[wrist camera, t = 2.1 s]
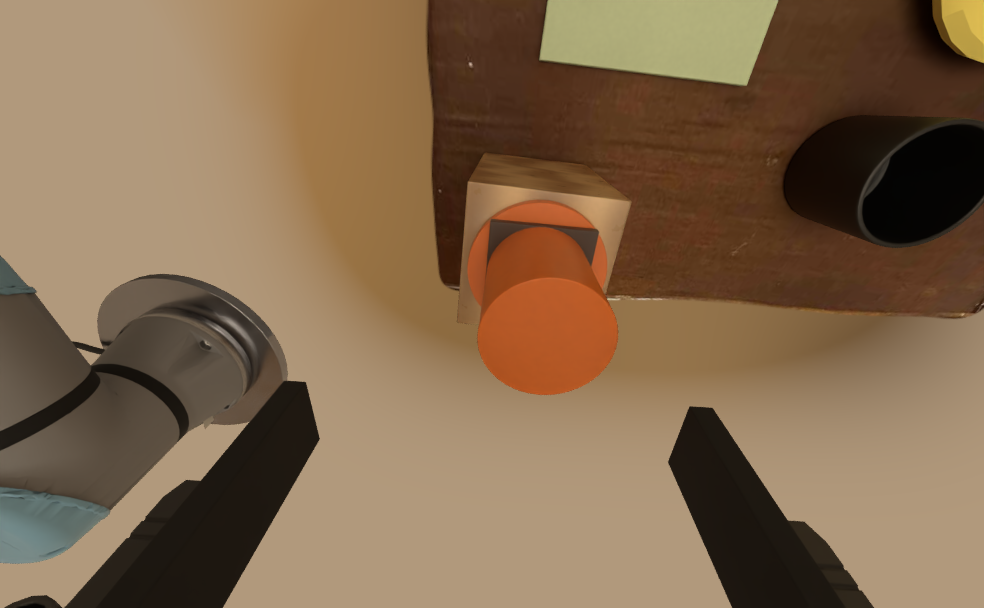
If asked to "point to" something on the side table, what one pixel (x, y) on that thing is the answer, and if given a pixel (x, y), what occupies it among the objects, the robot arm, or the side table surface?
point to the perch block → (537, 180)
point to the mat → (659, 36)
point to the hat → (542, 298)
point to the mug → (890, 177)
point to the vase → (961, 26)
